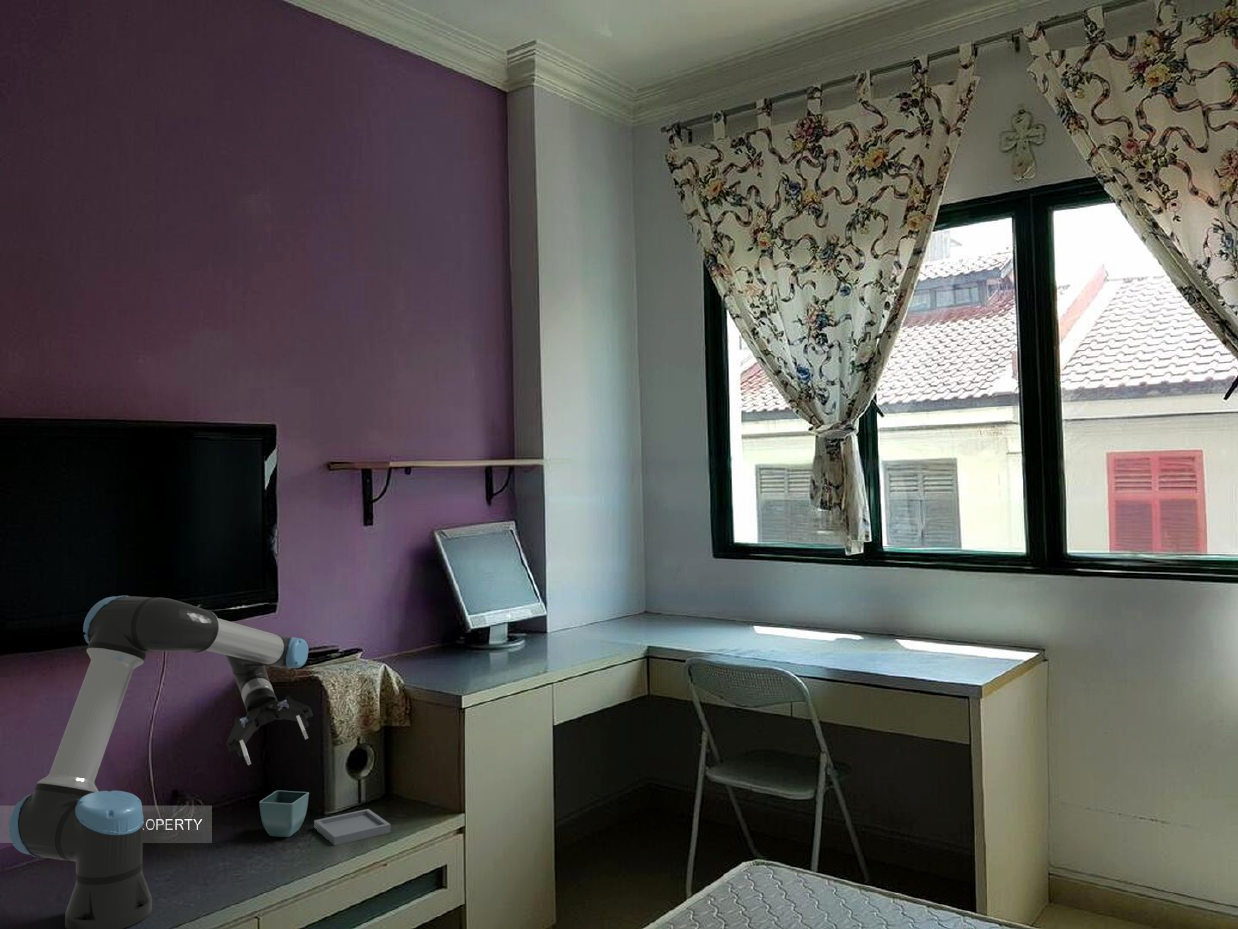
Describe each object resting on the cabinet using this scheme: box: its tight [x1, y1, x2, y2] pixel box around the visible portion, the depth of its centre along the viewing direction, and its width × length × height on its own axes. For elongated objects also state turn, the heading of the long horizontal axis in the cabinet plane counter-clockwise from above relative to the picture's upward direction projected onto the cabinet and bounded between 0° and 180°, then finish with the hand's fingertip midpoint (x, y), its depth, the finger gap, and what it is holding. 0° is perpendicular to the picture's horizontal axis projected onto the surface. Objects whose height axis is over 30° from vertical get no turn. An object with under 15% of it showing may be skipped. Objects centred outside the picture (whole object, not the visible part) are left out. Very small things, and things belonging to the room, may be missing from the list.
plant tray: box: [313, 808, 392, 846], centre depth 237 cm, size 14×14×2 cm
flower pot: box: [258, 790, 310, 838], centre depth 235 cm, size 9×9×9 cm
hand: (276, 747), depth 228 cm, fingers open, 13 cm apart
